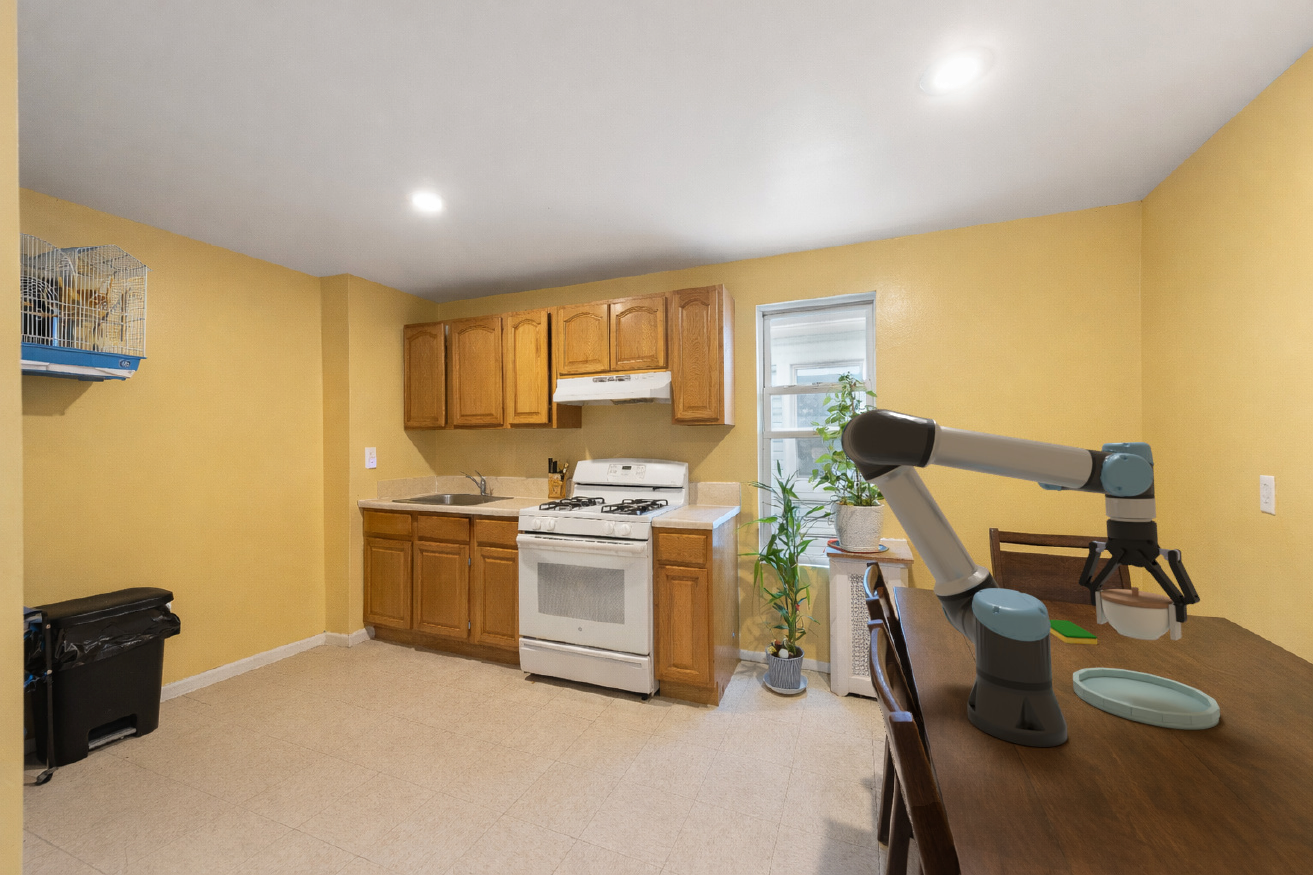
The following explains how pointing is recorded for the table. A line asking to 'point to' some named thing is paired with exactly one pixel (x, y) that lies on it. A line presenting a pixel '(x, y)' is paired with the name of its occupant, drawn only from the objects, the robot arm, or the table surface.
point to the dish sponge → (1071, 632)
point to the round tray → (1146, 698)
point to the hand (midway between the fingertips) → (1137, 630)
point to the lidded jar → (1136, 612)
